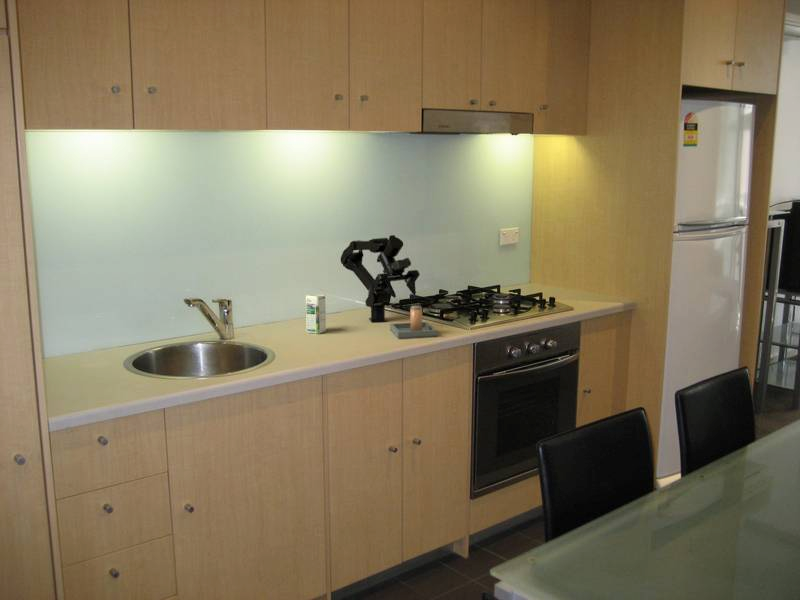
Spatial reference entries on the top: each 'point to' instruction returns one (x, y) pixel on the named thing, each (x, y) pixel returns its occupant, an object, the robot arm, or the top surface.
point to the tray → (404, 331)
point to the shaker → (416, 318)
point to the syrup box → (315, 314)
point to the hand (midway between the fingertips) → (405, 295)
